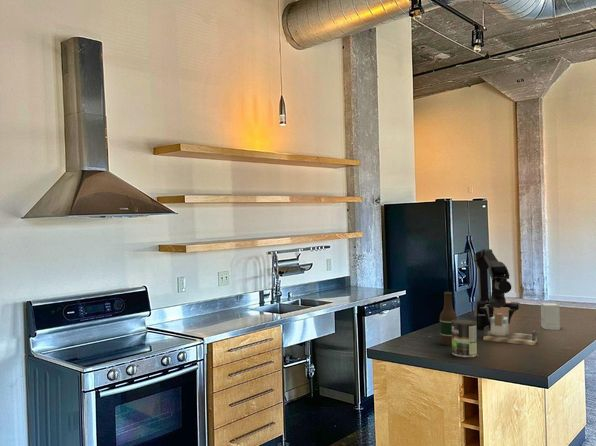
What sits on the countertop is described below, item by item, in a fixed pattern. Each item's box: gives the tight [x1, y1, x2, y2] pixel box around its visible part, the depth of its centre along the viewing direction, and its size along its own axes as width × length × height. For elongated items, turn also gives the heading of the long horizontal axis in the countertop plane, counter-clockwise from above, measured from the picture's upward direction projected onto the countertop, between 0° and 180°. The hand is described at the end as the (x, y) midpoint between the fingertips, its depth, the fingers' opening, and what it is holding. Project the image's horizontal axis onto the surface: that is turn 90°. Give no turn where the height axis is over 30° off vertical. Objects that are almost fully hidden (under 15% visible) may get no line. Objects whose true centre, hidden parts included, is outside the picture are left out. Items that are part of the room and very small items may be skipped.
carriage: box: [490, 313, 507, 336], centre depth 242 cm, size 6×6×9 cm
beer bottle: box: [439, 291, 458, 347], centre depth 235 cm, size 8×8×24 cm
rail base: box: [482, 326, 538, 346], centre depth 239 cm, size 22×10×6 cm, turn 57°
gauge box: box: [490, 315, 510, 333], centre depth 253 cm, size 7×7×8 cm
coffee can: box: [451, 318, 478, 358], centre depth 216 cm, size 10×10×14 cm
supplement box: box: [540, 302, 561, 331], centre depth 264 cm, size 7×7×13 cm
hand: (498, 322), depth 242 cm, fingers open, 9 cm apart
